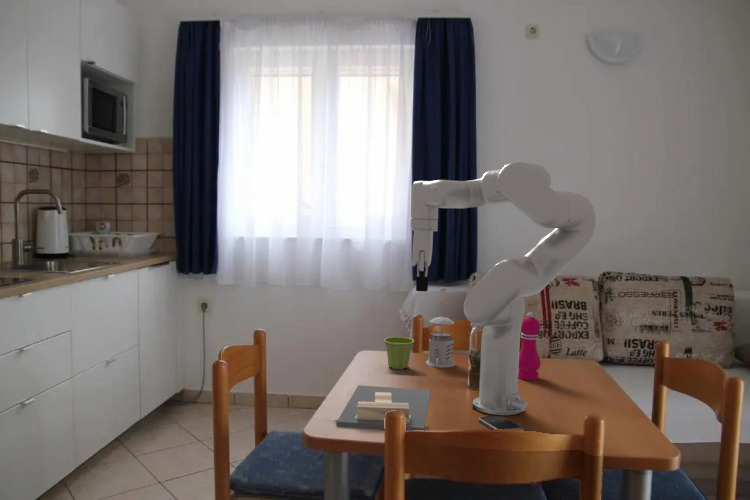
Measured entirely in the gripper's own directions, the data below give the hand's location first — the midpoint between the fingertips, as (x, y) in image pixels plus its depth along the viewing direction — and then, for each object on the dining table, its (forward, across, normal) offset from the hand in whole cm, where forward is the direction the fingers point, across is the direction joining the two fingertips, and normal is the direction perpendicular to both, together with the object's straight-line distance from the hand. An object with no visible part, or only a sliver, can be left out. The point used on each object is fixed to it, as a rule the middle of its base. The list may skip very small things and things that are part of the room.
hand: (421, 290), depth 178 cm
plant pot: (+27, -19, -8) cm, 34 cm away
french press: (+27, -26, +5) cm, 38 cm away
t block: (+26, +28, -7) cm, 39 cm away
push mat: (+27, +22, -6) cm, 36 cm away
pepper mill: (+27, -16, +32) cm, 45 cm away
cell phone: (+28, +30, +21) cm, 46 cm away
